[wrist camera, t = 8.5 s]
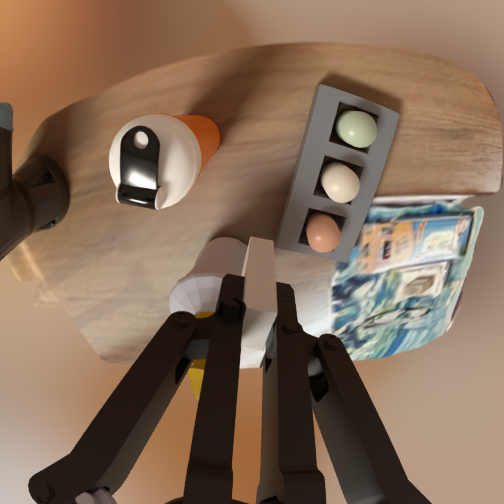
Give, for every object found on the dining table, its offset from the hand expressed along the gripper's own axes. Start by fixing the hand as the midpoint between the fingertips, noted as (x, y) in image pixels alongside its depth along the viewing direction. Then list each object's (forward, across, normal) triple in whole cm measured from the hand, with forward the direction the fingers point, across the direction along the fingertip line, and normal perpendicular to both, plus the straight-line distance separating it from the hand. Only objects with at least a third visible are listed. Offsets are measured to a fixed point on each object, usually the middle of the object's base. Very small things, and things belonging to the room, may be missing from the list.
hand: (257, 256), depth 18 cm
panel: (+24, +11, +2) cm, 27 cm away
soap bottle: (+25, -2, -16) cm, 30 cm away
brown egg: (+23, +11, -6) cm, 26 cm away
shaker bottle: (+25, -10, +3) cm, 27 cm away
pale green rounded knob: (+23, +11, +10) cm, 27 cm away
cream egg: (+23, +11, +2) cm, 25 cm away
